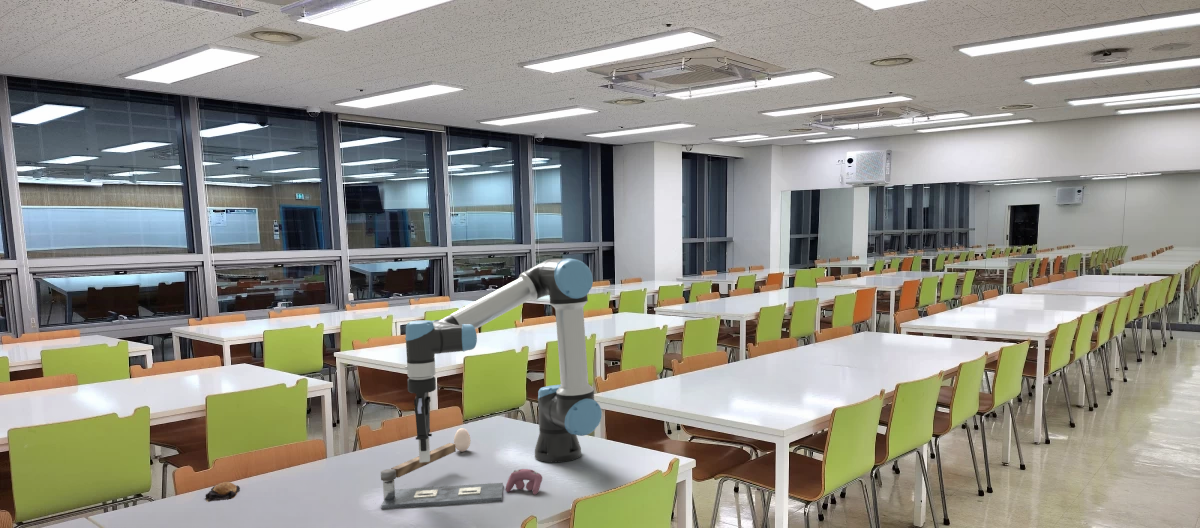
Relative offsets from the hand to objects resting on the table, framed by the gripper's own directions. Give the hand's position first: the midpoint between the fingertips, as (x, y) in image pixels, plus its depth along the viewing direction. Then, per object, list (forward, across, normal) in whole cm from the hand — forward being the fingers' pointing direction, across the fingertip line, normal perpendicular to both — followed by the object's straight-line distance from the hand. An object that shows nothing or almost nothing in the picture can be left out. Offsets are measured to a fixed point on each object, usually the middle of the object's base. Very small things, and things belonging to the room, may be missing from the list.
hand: (424, 461), depth 202 cm
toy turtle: (+11, -14, -60) cm, 62 cm away
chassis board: (+10, 0, +5) cm, 12 cm away
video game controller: (+11, -1, +27) cm, 29 cm away
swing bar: (+5, -11, -3) cm, 13 cm away
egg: (+11, -43, +6) cm, 45 cm away
